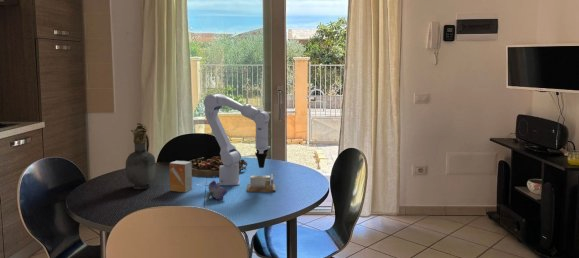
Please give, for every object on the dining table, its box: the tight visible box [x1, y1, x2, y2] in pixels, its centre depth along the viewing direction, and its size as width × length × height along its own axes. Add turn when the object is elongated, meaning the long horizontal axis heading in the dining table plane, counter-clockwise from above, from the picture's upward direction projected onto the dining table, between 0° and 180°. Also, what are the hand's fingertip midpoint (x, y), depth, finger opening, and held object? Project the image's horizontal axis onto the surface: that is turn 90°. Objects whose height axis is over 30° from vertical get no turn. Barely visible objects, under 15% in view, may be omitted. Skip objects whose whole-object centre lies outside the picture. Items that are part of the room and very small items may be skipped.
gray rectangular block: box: [249, 175, 271, 188], centre depth 225 cm, size 9×4×5 cm, turn 93°
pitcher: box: [125, 122, 157, 190], centre depth 226 cm, size 11×19×30 cm, turn 178°
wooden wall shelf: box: [246, 173, 276, 193], centre depth 225 cm, size 13×11×6 cm
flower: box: [206, 179, 228, 203], centre depth 207 cm, size 9×8×10 cm
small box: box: [168, 160, 193, 193], centre depth 221 cm, size 8×6×13 cm
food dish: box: [190, 155, 248, 178], centre depth 263 cm, size 35×33×8 cm
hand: (261, 165), depth 228 cm, fingers open, 7 cm apart
